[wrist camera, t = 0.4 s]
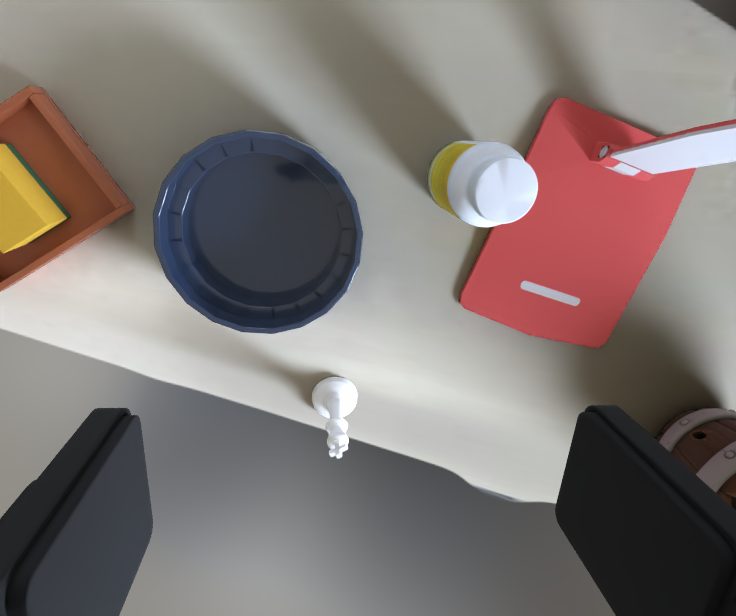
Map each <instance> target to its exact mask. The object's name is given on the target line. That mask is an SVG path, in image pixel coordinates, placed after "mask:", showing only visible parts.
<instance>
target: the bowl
mask: <svg viewBox="0 0 736 616" xmlns="http://www.w3.org/2000/svg"><path fill="white" fill-rule="evenodd" d="M153 227H154V246H155V250H156V252H157V255H158V257H159V260H160V263H161V265H162V268H163V270H164V273H165V276H166V277H167V279H168V280H169V282H170V283H171V284H172V285H173V287H174V288H175V289H176V291H177V292H178V293H179V294H180V296H181V297H182V298H183V299H184V301H185V302H186V303H187V304H188V305H190V306H191V307H193V308H194V309H195V310H197V311H198V312H200V313H201V314H202V315H204V316H205V317H207V318H208V319H210V320H211V321H213V322H215V323H218V324H221V325H224V326H227V327H229V328H232V329H235V330H238V331H241V332H251V333H268V334H274V333H278V332H283V331H287V330H291V329H296V328H300V327H303V326H305V325H306V324H308V323H310V322H312V321H313V320H315V319H317V318H319V317H320V316H322V315H324V314H326V313H327V312H328V311H329V310H330V309H331V308H332V307H333V306H334V305H335V304H336V303H337V301H338V300H339V299H340V298H341V297H342V296H343V295H344V294H345V293H346V292H347V290H348V288H349V286H350V284H351V281H352V279H353V277H354V275H355V273H356V270H357V268H358V266H359V263H360V255H361V246H362V237H363V231H362V227H361V222H360V217H359V212H358V208H357V203H356V200H355V199H354V197H353V195H352V193H351V192H350V190H349V188H348V186H347V185H346V183H345V181H344V179H343V178H342V176H341V174H340V172H339V171H338V169H337V168H336V167H335V166H334V165H333V164H332V163H331V162H330V161H328V160H327V159H326V158H325V157H324V156H323V155H322V154H321V153H320V152H319V151H318V150H317V149H315V148H314V147H312V146H310V145H308V144H306V143H304V142H302V141H300V140H297V139H295V138H293V137H291V136H289V135H287V134H283V133H274V132H266V131H257V130H243V131H239V132H234V133H229V134H225V135H220V136H216V137H212V138H210V139H208V140H207V141H205V142H204V143H202V144H201V145H199V146H197V147H196V148H194V149H193V150H191V151H189V152H188V153H186V154H185V155H183V156H182V157H181V159H180V160H179V161H178V163H177V164H176V165H175V167H174V168H173V169H172V171H171V172H170V173H169V175H168V176H167V177H166V178H165V180H164V181H163V183H162V186H161V189H160V192H159V196H158V199H157V202H156V205H155V209H154V212H153Z"/></svg>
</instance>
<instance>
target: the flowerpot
mask: <svg viewBox="0 0 736 616" xmlns="http://www.w3.org/2000/svg"><path fill="white" fill-rule="evenodd" d="M662 433H663V434H661V435H659V436H658V438H657V441H658V442H659V443H660V444H662V445H663V446H664V447H665V448H666V449H667V450H668V451H669V452H671V453H672V454H673V455H674V456H675V457H676V458H677V459H678V460H680V461H681V462H682V463H683V464H684V465H685V466H686V467H688V468H689V469H690V470H691V471H692V472H693V473H694V474H695V475H697V476H698V477H699V478H700V479H701V480H702V481H703V482H704V483H706V484H707V485H708V486H709V487H710V488H711V489H712V490H713V491H715V492H716V493H717V494H718V495H719V496H720V497H721V498H722V499H724V500H725V501H726V502H727V503H728V504H729V505H730V506H731V507H733V508H734V509H735V510H736V412H735V411H734V410H728V411H727V410H724V409H719V408H710V409H709V408H701V409H698V410H697V411H687V412H685V413H682V414H680V415H679V416H677V417H676V418H674V419H673V420H671V421H670V422H669V423H668V424H667V425H666V426H665V427H664V428H663V430H662Z"/></svg>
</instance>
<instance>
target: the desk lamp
mask: <svg viewBox="0 0 736 616" xmlns="http://www.w3.org/2000/svg"><path fill="white" fill-rule="evenodd" d="M733 161H736V119H734V120H729V121H724V122H719V123H715V124H710V125H705V126H700V127H695V128H691V129H687V130H684V131H680V132H676V133H673V134H669V135H665V136H662V137H655V136H653V135H651V134H649V133H646V132H644V131H642V130H639V129H637V128H635V127H633V126H630V125H628V124H626V123H623V122H621V121H619V120H616V119H614V118H612V117H610V116H607V115H605V114H603V113H600V112H598V111H596V110H593V109H591V108H589V107H587V106H584V105H582V104H580V103H577V102H575V101H573V100H571V99H568V98H561V99H555V101H554V102H553V103H552V104H551V106H550V107H549V108H548V110H547V112H546V114H545V116H544V119H543V121H542V123H541V125H540V127H539V129H538V132H537V134H536V136H535V138H534V140H533V142H532V145H531V147H530V149H529V151H528V153H527V155H526V158H525V162H527V163H528V164H529V165H530V166H531V167H532V169H533V170H534V172H535V174H536V177H537V182H538V191H537V196H536V199H535V201H534V204H533V205H532V207H531V208H530V210H529V211H528V212H527V213H526V214H525V215H524V216H523V217H521V218H520V219H518V220H516V221H514V222H511V223H506V224H500V225H497V226H493V227H492V229H491V231H490V233H489V235H488V237H487V239H486V241H485V243H484V245H483V247H482V249H481V251H480V253H479V255H478V257H477V260H476V262H475V264H474V266H473V268H472V270H471V272H470V274H469V276H468V278H467V280H466V282H465V284H464V286H463V288H462V290H461V292H460V299H459V302H460V303H461V304H462V306H463V307H464V308H465V309H468V310H470V311H472V312H475V313H477V314H480V315H482V316H485V317H487V318H489V319H492V320H494V321H497V322H499V323H502V324H504V325H506V326H509V327H511V328H514V329H516V330H519V331H521V332H523V333H526V334H528V335H533V336H537V337H542V338H547V339H552V340H557V341H562V342H567V343H572V344H577V345H582V346H587V347H591V348H597V347H601V346H602V345H603V344H604V343H605V342H606V341H607V340H608V338H609V337H610V335H611V333H612V331H613V329H614V328H615V326H616V324H617V322H618V320H619V319H620V317H621V315H622V313H623V311H624V310H625V308H626V306H627V304H628V302H629V301H630V299H631V297H632V295H633V293H634V292H635V290H636V288H637V286H638V284H639V283H640V281H641V279H642V277H643V275H644V274H645V272H646V270H647V268H648V266H649V265H650V263H651V261H652V259H653V257H654V256H655V254H656V252H657V250H658V249H659V247H660V245H661V243H662V241H663V240H664V238H665V236H666V234H667V231H668V229H669V227H670V225H671V222H672V220H673V218H674V216H675V214H676V211H677V209H678V207H679V205H680V203H681V200H682V198H683V196H684V194H685V192H686V189H687V187H688V185H689V183H690V181H691V178H692V176H693V174H694V172H695V169H696V167H702V166H708V165H714V164H720V163H727V162H733Z"/></svg>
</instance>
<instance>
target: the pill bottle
mask: <svg viewBox="0 0 736 616" xmlns="http://www.w3.org/2000/svg"><path fill="white" fill-rule="evenodd" d="M426 181H427V188H428V191H429V194H430V196H431V197H432V199H433V200H434V202H435V203H436V204H437V205H439V206H440V207H441V208H443V209H444V210H446V211H448V212H449V213H451V214H453V215H454V216H456V217H458V218H460V219H461V220H463V221H465V222H467V223H469V224H471V225H474V226H478V227H492V226H497V225H500V224H506V223H511V222H514V221H516V220H518V219H520V218H521V217H523V216H524V215H525V214H526V213H527V212H528V211H529V210H530V208H531V207H532V205H533V204H534V201H535V199H536V196H537V191H538V182H537V177H536V174H535V172H534V170H533V169H532V167H531V166H530V165H529V164H528V163H527V162H525V160H524V159H523V157H522V156H521V155H520V154H519V153H518V152H517V151H516V150H515V149H514V148H512V147H510V146H508V145H506V144H503V143H499V142H482V141H467V140H465V141H455V142H452V143H449V144H447V145H446V146H444V147H443V148H441V149H440V150H439V151H438V152H437V153H436V154H435V155H434V157H433V158H432V160H431V162H430V164H429V167H428V170H427V178H426Z"/></svg>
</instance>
